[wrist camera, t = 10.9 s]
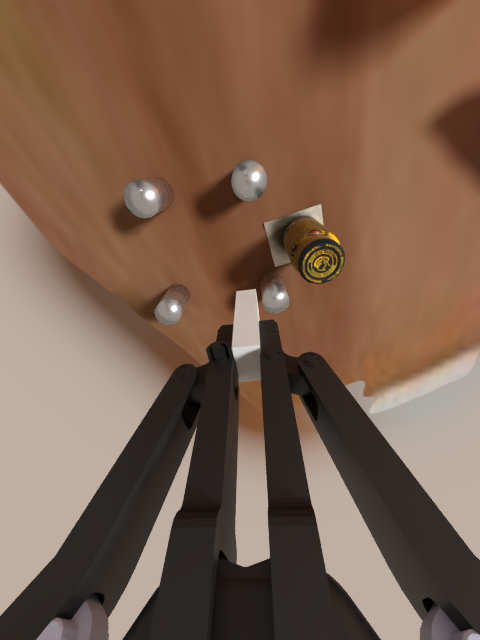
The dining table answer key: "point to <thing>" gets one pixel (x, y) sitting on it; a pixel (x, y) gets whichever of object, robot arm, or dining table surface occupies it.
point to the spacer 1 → (148, 197)
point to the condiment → (306, 245)
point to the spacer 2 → (172, 305)
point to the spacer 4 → (274, 293)
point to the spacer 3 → (249, 180)
